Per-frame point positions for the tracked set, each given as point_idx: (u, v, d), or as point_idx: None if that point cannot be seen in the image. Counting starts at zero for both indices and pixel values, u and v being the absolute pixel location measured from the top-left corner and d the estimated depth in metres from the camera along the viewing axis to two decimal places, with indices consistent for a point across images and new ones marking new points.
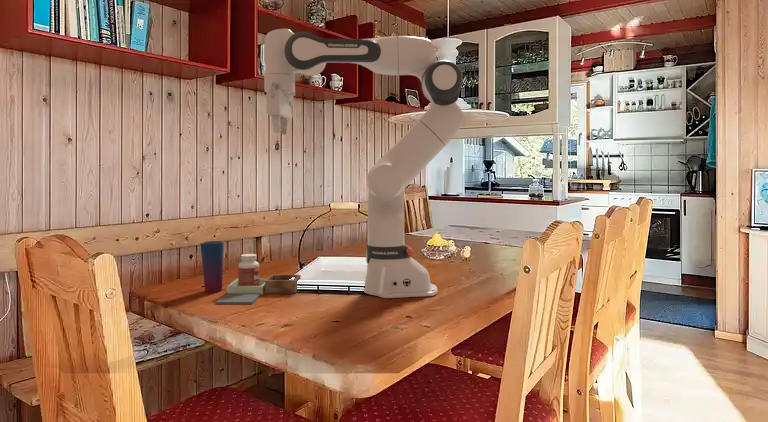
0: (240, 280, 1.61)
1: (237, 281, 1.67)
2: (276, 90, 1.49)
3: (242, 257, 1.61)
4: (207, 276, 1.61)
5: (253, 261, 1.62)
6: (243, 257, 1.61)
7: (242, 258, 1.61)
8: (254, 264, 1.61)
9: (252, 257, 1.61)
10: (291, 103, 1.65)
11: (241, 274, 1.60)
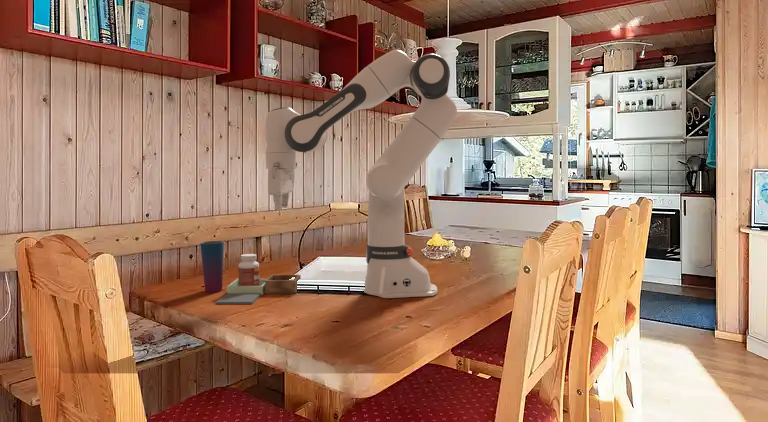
0: (240, 280, 1.61)
1: (237, 281, 1.67)
2: (277, 171, 1.51)
3: (242, 257, 1.61)
4: (207, 276, 1.61)
5: (253, 261, 1.62)
6: (243, 257, 1.61)
7: (242, 258, 1.61)
8: (254, 264, 1.61)
9: (252, 257, 1.61)
10: (292, 176, 1.68)
11: (241, 274, 1.60)
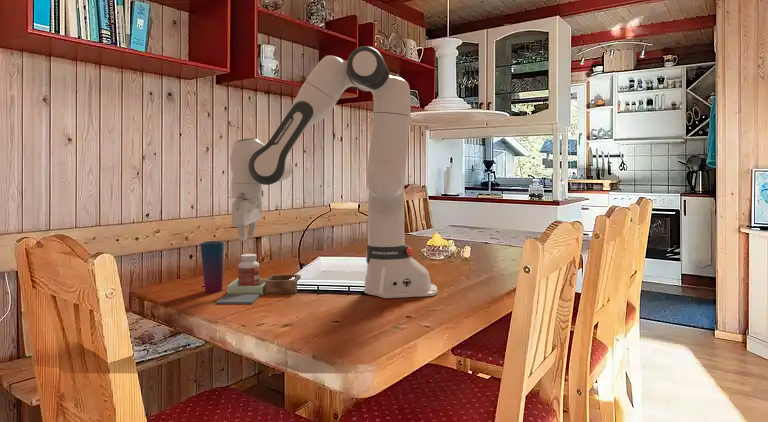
0: (240, 280, 1.61)
1: (237, 281, 1.67)
2: (241, 203, 1.52)
3: (242, 257, 1.61)
4: (207, 276, 1.61)
5: (253, 261, 1.62)
6: (243, 257, 1.61)
7: (242, 258, 1.61)
8: (254, 264, 1.61)
9: (252, 257, 1.61)
10: (259, 204, 1.69)
11: (241, 274, 1.60)
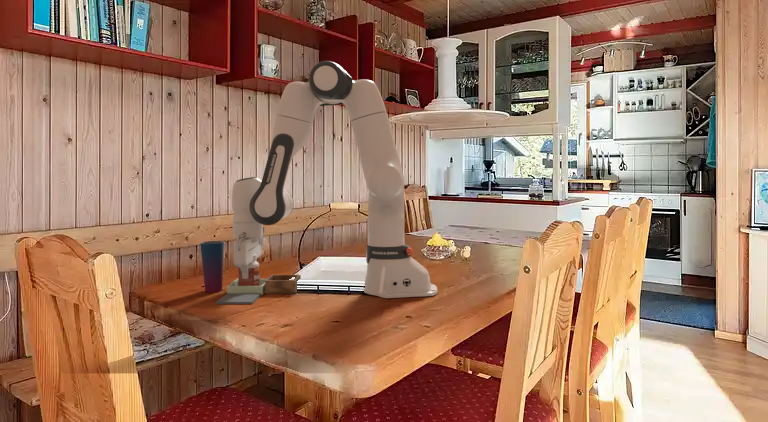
0: (240, 280, 1.61)
1: (237, 281, 1.67)
2: (242, 243, 1.53)
3: None
4: (207, 276, 1.61)
5: (253, 261, 1.62)
6: None
7: None
8: (254, 263, 1.61)
9: None
10: (260, 240, 1.70)
11: (241, 274, 1.60)
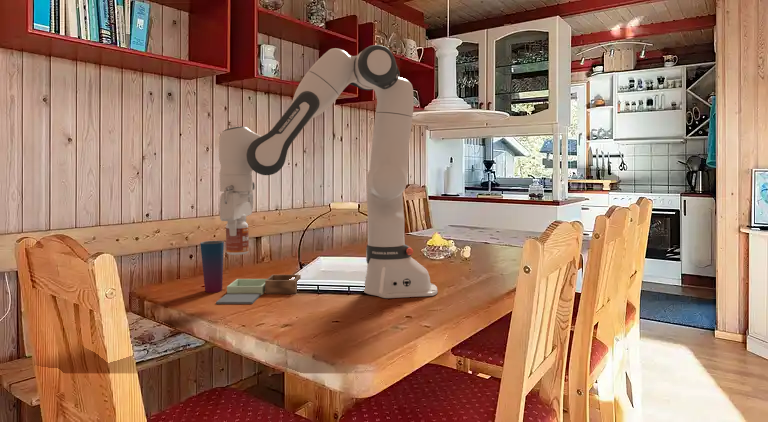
0: (227, 241, 1.49)
1: (237, 281, 1.67)
2: (230, 195, 1.41)
3: None
4: (207, 276, 1.61)
5: (242, 221, 1.50)
6: None
7: None
8: (243, 224, 1.49)
9: None
10: (250, 198, 1.58)
11: (229, 235, 1.48)
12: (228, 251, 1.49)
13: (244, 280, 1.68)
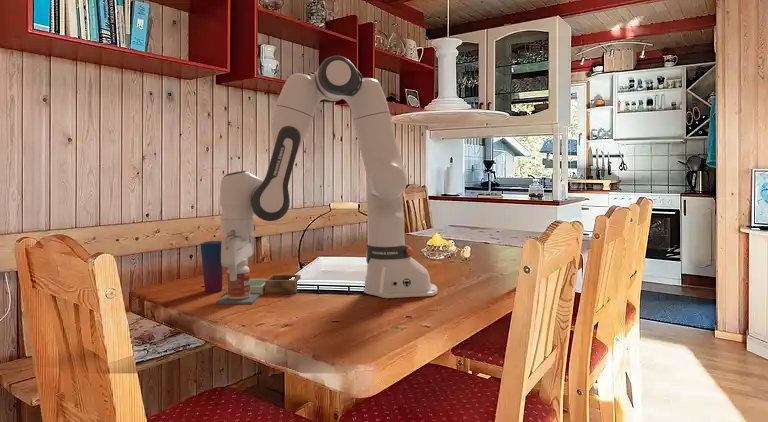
0: (229, 286, 1.50)
1: None
2: (231, 241, 1.42)
3: None
4: (207, 276, 1.61)
5: (243, 266, 1.51)
6: None
7: None
8: (244, 268, 1.50)
9: (242, 261, 1.50)
10: (251, 239, 1.59)
11: (230, 280, 1.50)
12: (230, 296, 1.50)
13: None
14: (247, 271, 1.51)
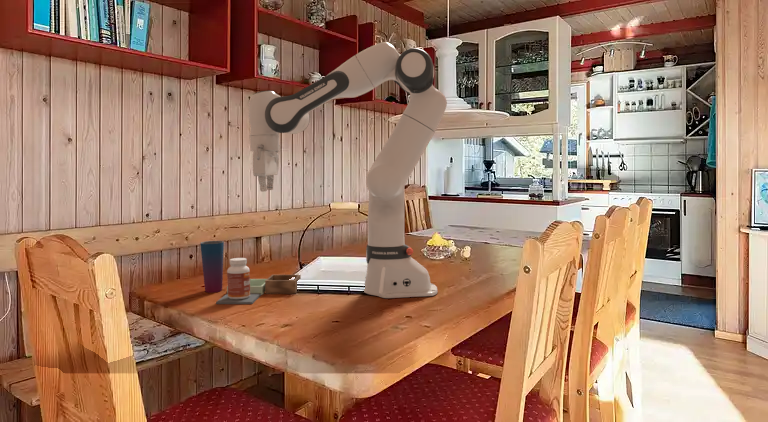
0: (229, 286, 1.50)
1: None
2: (261, 152, 1.54)
3: (231, 261, 1.50)
4: (207, 276, 1.61)
5: (243, 266, 1.51)
6: (232, 261, 1.50)
7: (231, 262, 1.50)
8: (244, 268, 1.50)
9: (242, 261, 1.50)
10: (276, 159, 1.71)
11: (230, 280, 1.50)
12: (230, 296, 1.50)
13: None
14: (247, 271, 1.51)
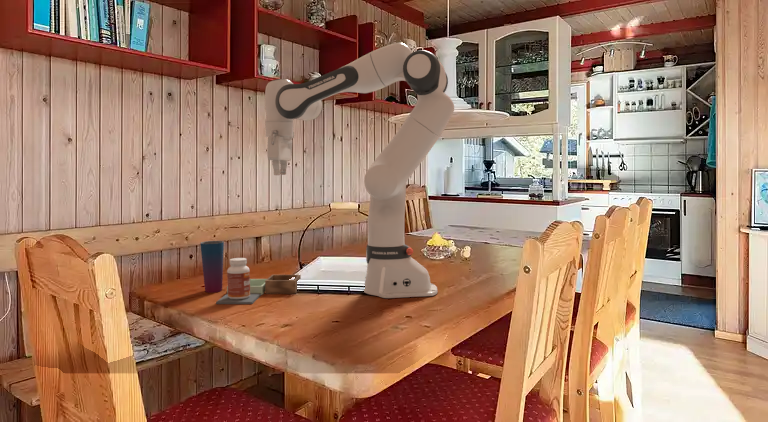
0: (229, 286, 1.50)
1: None
2: (276, 137, 1.62)
3: (231, 261, 1.50)
4: (207, 276, 1.61)
5: (243, 266, 1.51)
6: (232, 261, 1.50)
7: (231, 262, 1.50)
8: (244, 268, 1.50)
9: (242, 261, 1.50)
10: (290, 145, 1.78)
11: (230, 280, 1.50)
12: (230, 296, 1.50)
13: None
14: (247, 271, 1.51)
